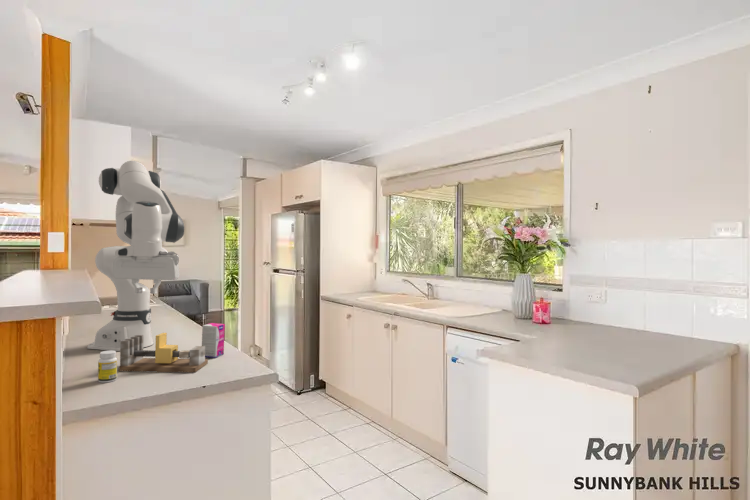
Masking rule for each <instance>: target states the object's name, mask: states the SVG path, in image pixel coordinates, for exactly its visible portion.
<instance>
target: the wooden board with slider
mask: <svg viewBox="0 0 750 500" xmlns="http://www.w3.org/2000/svg"><path fill="white" fill-rule="evenodd" d="M172 357H178V359H177V360H176V361H174V362H172V363H155V350H152V349H151V350H148V349H147V350H144V347H143V335H135V337H131V339H125V340H122V341H120V351H119V366H118V372H140V371H141V372H142V371H143V373H145V372H146V371H157V372H156V373H197V372H198V371H200V370H201V369H203V368H204V367H205V366H207V365H208V364H209V360H208V358H206V357H205V346H202V345H195V346H194V347H192V348H190V349H188V350H187V349H186V350H178V351H172ZM144 371H145V372H144ZM146 373H147V372H146Z"/></svg>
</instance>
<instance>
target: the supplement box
mask: <svg viewBox="0 0 750 500" xmlns="http://www.w3.org/2000/svg"><path fill="white" fill-rule="evenodd" d="M225 328H226V324H225V323H219V322H218V323H216V322H210V323H207V324H204V325H202V328H201V329H202V332H201V346H205V359H208V358H209V359H216V358H219V357H220V356H221V357H222V356H223V355H224V354H225V352H224V351H225V333H226V331H225Z"/></svg>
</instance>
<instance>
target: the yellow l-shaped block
mask: <svg viewBox="0 0 750 500" xmlns="http://www.w3.org/2000/svg"><path fill="white" fill-rule="evenodd" d="M167 335H168V334H167V332H161V333H159V334H157V335H155V347H154V348H155V349H154V351H155V357H154V358H155V363H172V362H174V361H176V360H177V359H179V357H172V351H179V344H167V341H168V339H167V338H168V337H167Z"/></svg>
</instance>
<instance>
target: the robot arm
mask: <svg viewBox="0 0 750 500" xmlns="http://www.w3.org/2000/svg"><path fill="white" fill-rule="evenodd" d="M98 184H99V187H100V189H101V191H102V192H103V193H104V194H107V195H112V196H113V195H117V196H120V197H119V198H118V199H117V202H116V206H115V226H116V227H115V228H116V235H117V237H118V239H119V240H120V241H122V242H124V243H126V244H128V246H127V245H123V246H122V245H114V246H107V247H103V248H101V249H99V251H97V253H96V255H95V258H94V262H95V267H96V269H98V271H100V272H101V274H103V275H105V276H107V278H109V280H110V281H111V282H112V284H113V285H114V288H115V290H116V295H117V296H116V297H117V298H116V299H117V309H116V310H115V311H113V312H110V315H109V316H111V317H112V316H113V317H112V320H111V321H109V322H107V323H106V324H105V325H103V326H102V327H101V328H99V329H98V330H97V332H95V338H94V341H93V342H91V343H89V344H88V345H87V348H86V349H89V350H99V351H100V350H101V351H110V350H112V351H116V352H120V341H122V340H125V339H131V337H135V335H143V348H146V347H150V346H153V345H154V344H155V342H154V339H153V335H152V328H151V323H152V322H151V321H152V308H151V294H153V295H155V294H158V288H159V286H160V285H161V283H162V281H176V280H178V279H179V278H180V267H179V262H180V260H179V259H180V256H179V254H178V253H176V252H175V251H168V250H167V249H166V248H165V247H163V242H166V243H176V242H178V241H179V240H181V238H183V237H184V235H185V225H184V224H185V223H184V221H183V219H182V217H181V216H180V215H179V214H178V212H177V211H176V210H175V207H174V205H173V204H172V202H171V200H170V198H169V197H168V195H167V193H166V192H165V191H164V190H162V189H161V188H162V179H161V177H160V175H159V173H157V172H155V171H152V170H148V168H147V167H146V166H145V165H144V164H143V163H141V162H139V161H136V160H128V161H125V162H124V163H122V164H121V166H120V168H114V167H109V168H108V167H107V168H104V169H103V170H101V172H100V174H99V176H98ZM140 280H147V281H148V280H149V281H151V280H153V284H154V285H153V286H152V287H150V288H149V287H148V286H147V285H145V284H143V283H140Z"/></svg>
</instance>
